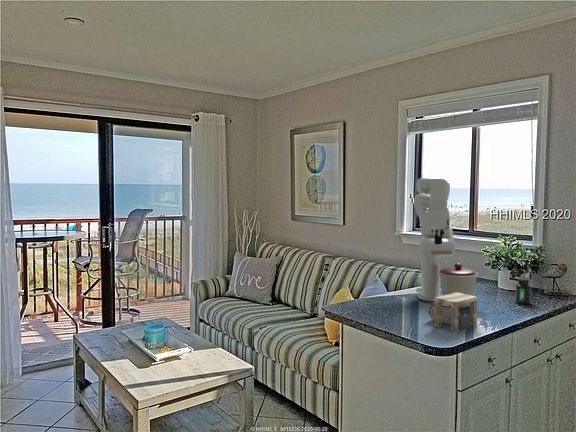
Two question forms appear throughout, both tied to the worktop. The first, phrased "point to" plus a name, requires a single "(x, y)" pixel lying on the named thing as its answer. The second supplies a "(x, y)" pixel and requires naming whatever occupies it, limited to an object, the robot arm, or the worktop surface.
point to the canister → (458, 281)
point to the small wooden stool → (456, 310)
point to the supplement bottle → (523, 292)
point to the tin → (445, 313)
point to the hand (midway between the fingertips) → (438, 244)
